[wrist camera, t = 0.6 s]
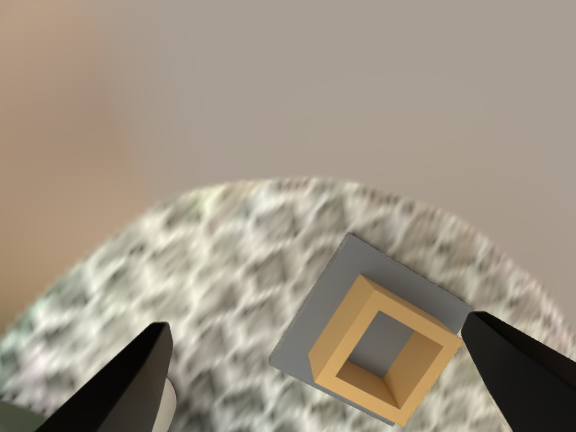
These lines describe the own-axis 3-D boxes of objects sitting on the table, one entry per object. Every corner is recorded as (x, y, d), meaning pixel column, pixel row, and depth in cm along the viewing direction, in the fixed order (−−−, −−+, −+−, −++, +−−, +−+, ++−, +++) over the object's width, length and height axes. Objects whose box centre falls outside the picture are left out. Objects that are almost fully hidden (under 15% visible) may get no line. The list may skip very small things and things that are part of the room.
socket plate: (388, 417, 28) (411, 463, 23) (269, 357, 26) (269, 394, 21) (466, 303, 26) (506, 328, 22) (347, 232, 25) (365, 244, 20)
